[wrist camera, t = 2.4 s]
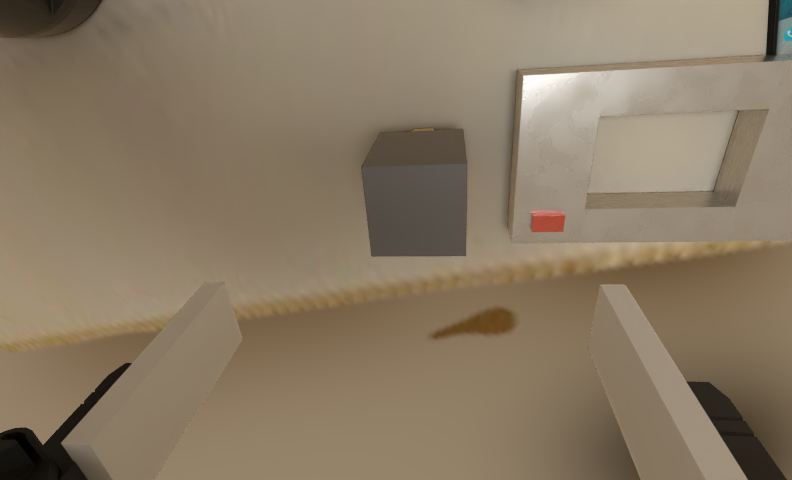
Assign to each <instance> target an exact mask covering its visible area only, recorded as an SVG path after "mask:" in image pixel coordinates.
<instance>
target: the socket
mask: <svg viewBox="0 0 792 480" xmlns="http://www.w3.org/2000/svg"><path fill="white" fill-rule="evenodd" d="M731 110H739V112H738V115H737V119H736V122H735V125H734V128H733V131H732V134H731V138H730V141H729V144H728V147H727V150H726V154H725V157H724V160H723V163H722V166H721V169H720V173H719V176H718V179H717V182H716V185H715V189H714V191H705V192H660V193H615V194H587V192H588V186H589V179H590V173H591V167H592V161H593V154H594V148H595V142H596V135H597V129H598V123H599V117H600V116H619V115H642V114H664V113H686V112H708V111H731ZM508 230H509V234H510V238H511V242H512V243H585V242H716V241H792V54H784V55H756V56H740V57H723V58H706V59H690V60H673V61H656V62H640V63H623V64H606V65H590V66H573V67H556V68H540V69H523V70H517V86H516V101H515V117H514V133H513V148H512V164H511V180H510V196H509V211H508Z"/></svg>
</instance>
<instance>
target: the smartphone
mask: <svg viewBox="0 0 792 480" xmlns="http://www.w3.org/2000/svg"><path fill="white" fill-rule="evenodd" d="M784 54H792V0H769V14H768V32H767V51H766V55H784Z"/></svg>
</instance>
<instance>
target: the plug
mask: <svg viewBox="0 0 792 480" xmlns="http://www.w3.org/2000/svg"><path fill="white" fill-rule="evenodd" d="M361 169H362V178H363V187H364V195H365V204H366V212H367V221H368V230H369V238H370V247H371V256H466V217H467V159H466V150H465V141H464V132H463V129H452V130H434V128H426V129H413V131H406V132H382V133H379V135H378V137H377V139H376V141H375V143H374V144H373V146H372V148H371V150H370V152H369V154H368V156H367V157H366V159H365V161H364V163H363V165H362V167H361Z"/></svg>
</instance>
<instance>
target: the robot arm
mask: <svg viewBox="0 0 792 480" xmlns="http://www.w3.org/2000/svg"><path fill="white" fill-rule="evenodd" d="M99 2H100V0H0V37H8V38H26V37H39V36H49V35H55V34H60V33H63V32H66V31H68V30H70V29H72V28H74V27H76V26H77V25H79V24H80V23H82V22H83V21H84V20H85V19H86V18H87V17H88V16H89V15H90V14H91V13H92V12H93V10H94V9H95V8H96V6H97V5H98V3H99ZM242 340H243V339H242V336H241V332H240V329H239V326H238V323H237V320H236V317H235V313H234V310H233V307H232V304H231V301H230V298H229V295H228V291H227V288H226V285H225V282H205V283H204V284H203V285H202V286H201V287H200V288H199V289H198V291H197V292H196V293H195V294H194V295H193V296H192V297H191V298H190V300H189V301H188V302H187V303H186V304H185V305H184V306H183V307H182V308H181V310H180V311H179V312H178V313H177V314H176V315H175V316H174V317H173V318H172V320H171V321H170V322H169V323H168V324H167V325H166V326H165V327H164V329H163V330H162V331H161V332H160V333H159V334H158V335H157V336H156V337H155V339H154V340H153V341H152V342H151V343H150V344H149V345H148V346H147V348H146V349H145V350H144V351H143V352H142V353H141V354H140V355H139V356H138V358H137V359H136V360H135V361H134V362H133V363H125V364H124V365H122V366H121V367H119V368H118V369H117V370H115V371H114V372H112V373H111V374H109V375H108V376H107V377H106V378H105V379H104V380H103V381H102V383H101V384H100V385H99V386H98V387H97V388H96V389H95V392H92V393H91V394H90V396H88V398H87V399H86V400H85V401H84V404H81V405H80V406H79V407H78V408H77V409H76V410H75V411H74V413H73V414H72V415H71V416H70V417H69V418H68V419H67V420H66V421H65V422H64V423H63V424H62V425H61V427H60V428H59V429H58V430H57V431H56V432H55V433H54V434H53V435H52V436H51V437H50V438H49V439H48V441H47V442H46V443H45V444H44V445H42V443H41V442H40V441H39V439H38V438H37V437H36V435H35V434H34V432H33V431H32V430H30V429H28V428H14V429H11V430H8V431H4V432H2V433H0V480H155V478H156V477H157V475H158V473H159V472H160V470H161V469H162V467H163V465H164V463H165V462H166V461H167V459H168V457H169V456H170V454H171V453H172V451H173V450H174V448H175V446H176V445H177V443H178V441H179V440H180V438H181V437H182V435H183V434H184V432H185V430H186V429H187V427H188V426H189V424H190V422H191V421H192V419H193V417H194V416H195V415H196V413H197V411H198V410H199V408H200V406H201V405H202V403H203V401H204V400H205V399H206V397H207V395H208V394H209V392H210V391H211V389H212V387H213V386H214V384H215V383H216V381H217V379H218V378H219V376H220V375H221V373H222V372H223V370H224V368H225V367H226V365H227V364H228V362H229V360H230V359H231V357H232V356H233V354H234V352H235V351H236V349H237V348H238V346H239V344H240V343H241V341H242ZM588 349H589V352H590V354H591V357H592V359H593V362H594V364H595V366H596V369H597V371H598V374H599V377H600V379H601V382H602V384H603V387H604V389H605V392H606V394H607V397H608V399H609V402H610V404H611V407H612V409H613V412H614V414H615V416H616V419H617V422H618V424H619V426H620V429H621V431H622V434H623V437H624V439H625V441H626V444H627V446H628V449H629V451H630V453H631V456H632V459H633V461H634V464H635V466H636V469H637V471H638V474H639V476H640V479H641V480H787V479H786V478H785V477H784V475H783V474H782V472H781V471H780V469H779V468H778V467H777V465H776V464H775V462H774V461H773V459H772V458H771V457H770V455H769V454H768V452H767V451H766V450H765V448H764V447H763V446H762V444H761V443H760V441H759V440H758V438H757V437H754V433H753V431H752V430H751V429H750V427H749V426H748V424H747V423H746V422H745V421H743V419H742V416H741V414H740V413H739V412H738V410H737V409H736V407H735V406H734V405H733V403H732V402H731V400H730V399H729V398H728V397H727V396H725V395H724V394H723V393H721V392H720V391H719V390H718V389H717V388H715V387H714V386H713V385H712V384H710V383H709V382H686V381H685V379H684V377H683V376H682V374H681V373H680V371H679V369H678V368H677V367H676V365H675V363H674V361H673V360H672V358H671V357H670V355H669V354H668V352H667V350H666V349H665V347H664V346H663V344H662V343H661V341H660V339H659V338H658V336H657V335H656V333H655V331H654V330H653V328H652V326H651V325H650V323H649V322H648V320H647V319H646V317H645V315H644V314H643V312H642V311H641V309H640V308H639V306H638V304H637V303H636V301H635V300H634V298H633V296H632V295H631V293H630V292H629V290H628V288H627V287H626V285H600V289H599V294H598V299H597V304H596V309H595V315H594V320H593V325H592V330H591V335H590V340H589V345H588Z"/></svg>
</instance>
